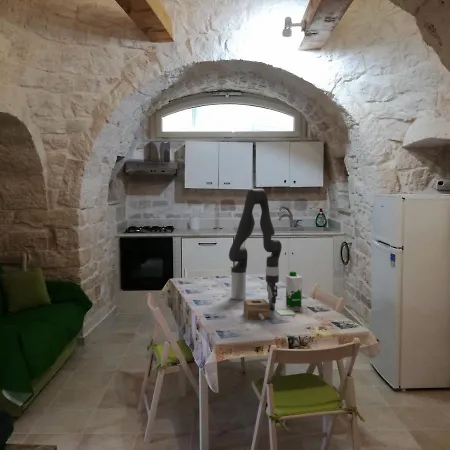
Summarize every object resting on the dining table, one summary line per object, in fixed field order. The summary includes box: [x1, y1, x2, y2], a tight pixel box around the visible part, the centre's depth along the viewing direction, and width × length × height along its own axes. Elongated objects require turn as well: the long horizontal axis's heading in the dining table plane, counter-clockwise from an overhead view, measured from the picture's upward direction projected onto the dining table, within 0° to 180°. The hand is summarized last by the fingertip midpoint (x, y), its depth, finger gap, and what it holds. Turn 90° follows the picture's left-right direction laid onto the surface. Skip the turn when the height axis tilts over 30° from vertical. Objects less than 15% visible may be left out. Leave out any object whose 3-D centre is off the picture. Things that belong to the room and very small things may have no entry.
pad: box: [275, 309, 296, 317], centre depth 266 cm, size 9×9×1 cm
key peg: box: [268, 287, 276, 312], centre depth 272 cm, size 5×5×13 cm
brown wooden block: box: [242, 298, 270, 321], centre depth 255 cm, size 21×12×8 cm, turn 9°
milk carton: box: [285, 271, 304, 308], centre depth 282 cm, size 9×9×20 cm
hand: (271, 301), depth 272 cm, fingers open, 8 cm apart
